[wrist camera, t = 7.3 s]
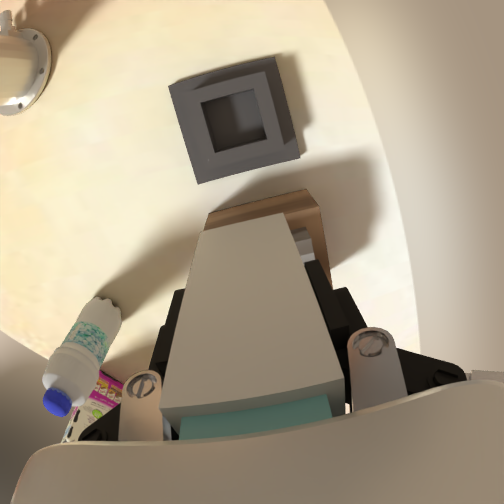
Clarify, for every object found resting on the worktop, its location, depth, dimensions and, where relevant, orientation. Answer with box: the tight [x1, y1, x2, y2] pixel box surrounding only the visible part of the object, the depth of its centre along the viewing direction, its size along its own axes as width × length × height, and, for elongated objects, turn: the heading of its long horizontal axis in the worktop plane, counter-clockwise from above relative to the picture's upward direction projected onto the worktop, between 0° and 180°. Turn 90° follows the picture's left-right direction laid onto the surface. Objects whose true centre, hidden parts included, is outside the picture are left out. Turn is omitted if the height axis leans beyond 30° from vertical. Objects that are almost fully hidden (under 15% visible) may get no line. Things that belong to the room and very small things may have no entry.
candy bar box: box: [61, 370, 124, 443], centre depth 45 cm, size 11×5×16 cm, turn 48°
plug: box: [158, 213, 345, 440], centre depth 10 cm, size 4×4×12 cm
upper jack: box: [203, 189, 333, 289], centre depth 36 cm, size 12×12×10 cm
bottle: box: [43, 297, 122, 417], centre depth 35 cm, size 7×7×20 cm
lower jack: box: [168, 57, 300, 184], centre depth 32 cm, size 12×12×4 cm
